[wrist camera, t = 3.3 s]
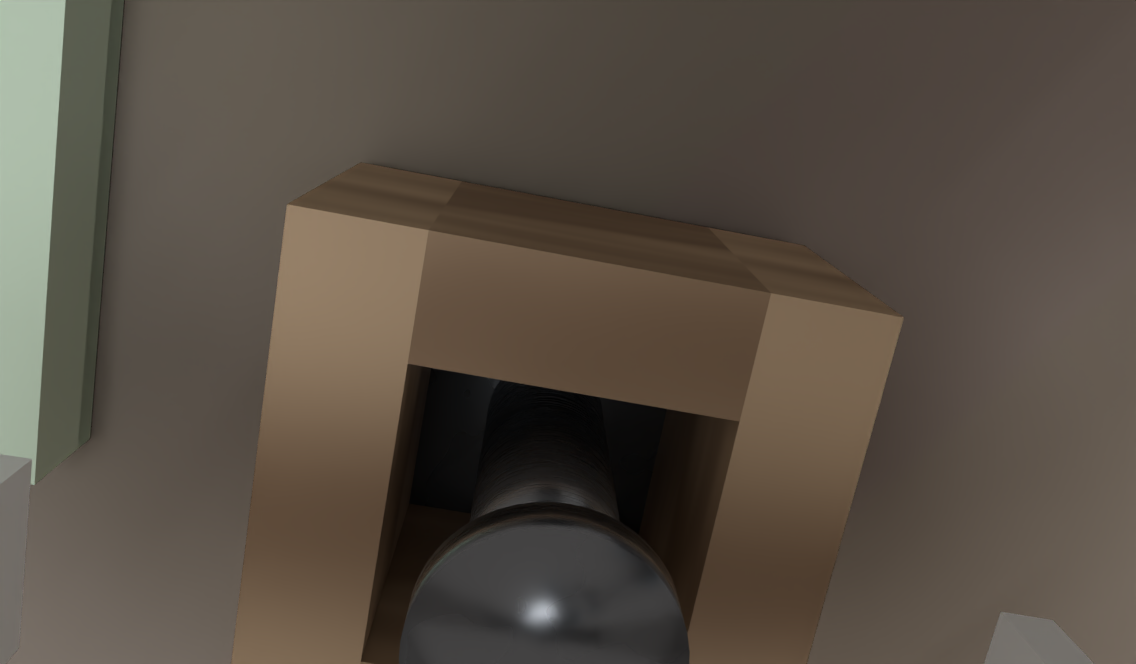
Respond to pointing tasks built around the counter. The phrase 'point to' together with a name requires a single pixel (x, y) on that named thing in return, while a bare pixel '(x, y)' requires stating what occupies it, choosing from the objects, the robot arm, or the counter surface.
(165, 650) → the counter surface
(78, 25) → the tray
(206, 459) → the counter surface
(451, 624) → the dark grey knobbed stand
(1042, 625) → the robot arm
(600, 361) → the collar
